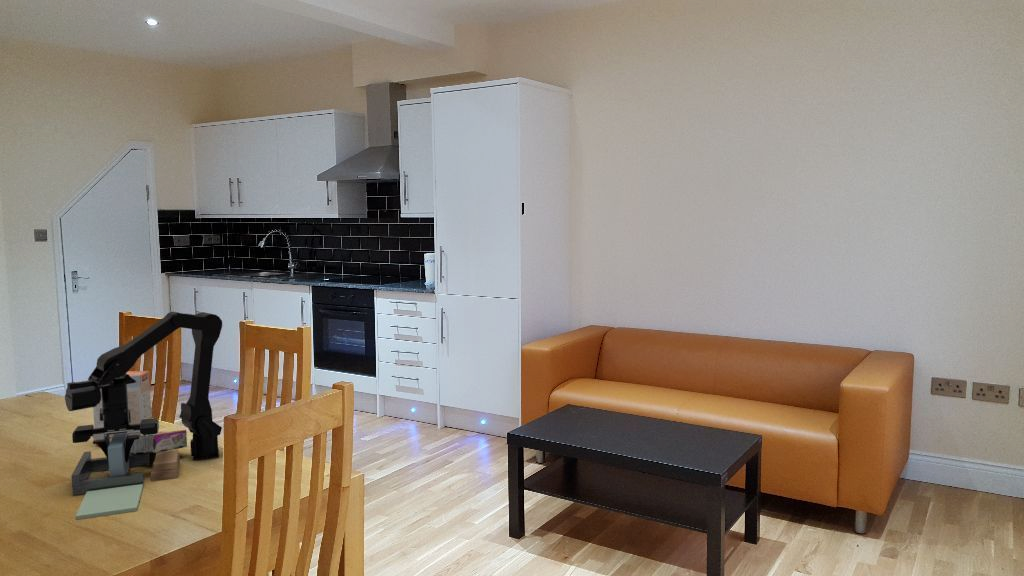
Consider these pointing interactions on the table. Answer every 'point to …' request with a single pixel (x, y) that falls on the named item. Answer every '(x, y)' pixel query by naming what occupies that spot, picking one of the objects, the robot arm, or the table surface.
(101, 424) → the cracker box
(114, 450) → the grey panel
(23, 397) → the table surface
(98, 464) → the rack
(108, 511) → the mat
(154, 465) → the offcut pile
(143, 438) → the candy bar box
